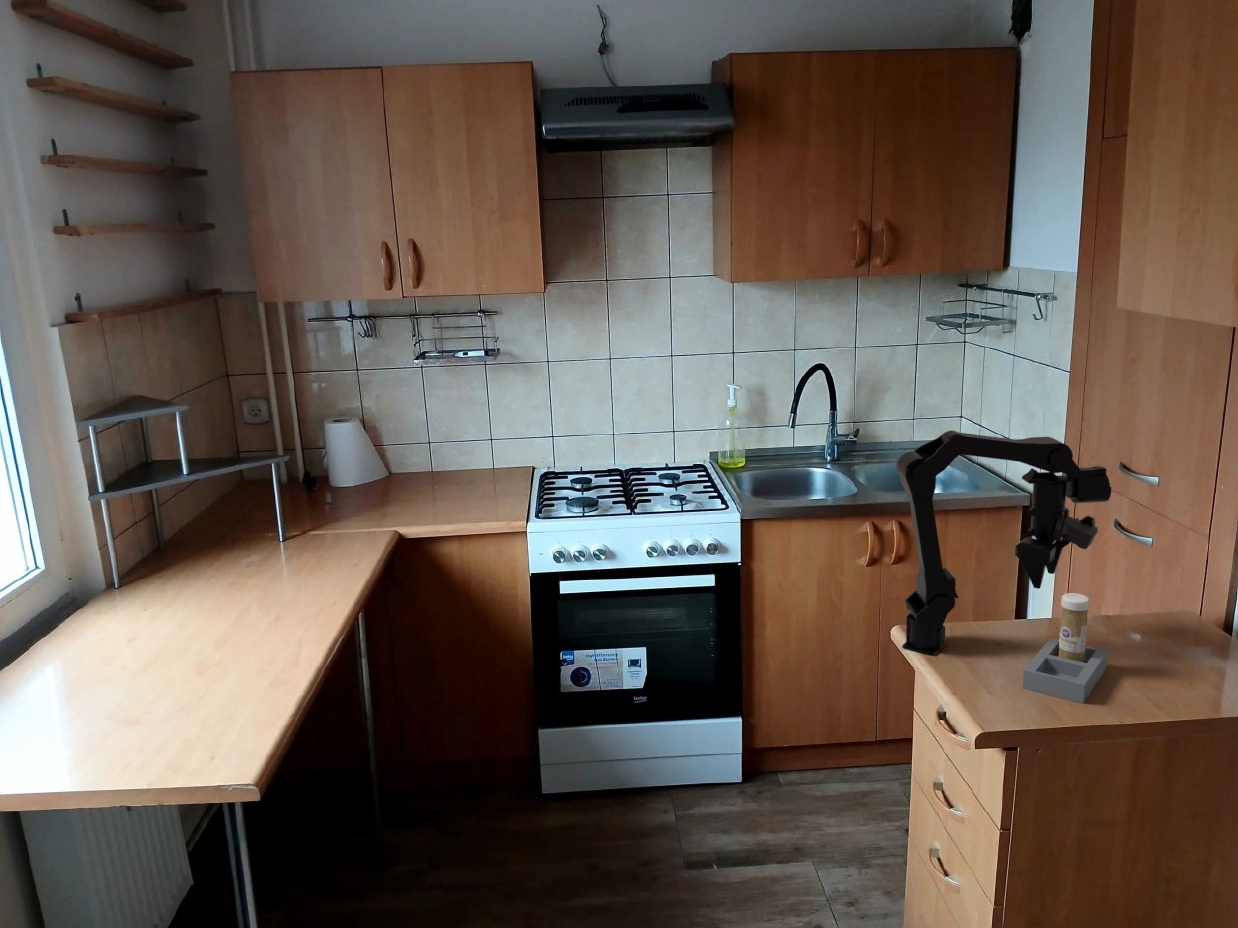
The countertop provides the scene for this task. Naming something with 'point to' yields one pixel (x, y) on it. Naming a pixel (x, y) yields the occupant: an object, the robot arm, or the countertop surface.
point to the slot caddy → (1064, 672)
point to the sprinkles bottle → (1073, 626)
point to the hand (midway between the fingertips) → (1044, 580)
